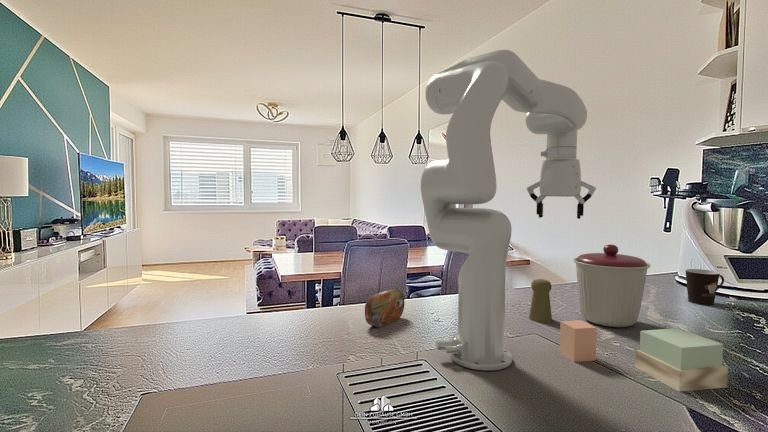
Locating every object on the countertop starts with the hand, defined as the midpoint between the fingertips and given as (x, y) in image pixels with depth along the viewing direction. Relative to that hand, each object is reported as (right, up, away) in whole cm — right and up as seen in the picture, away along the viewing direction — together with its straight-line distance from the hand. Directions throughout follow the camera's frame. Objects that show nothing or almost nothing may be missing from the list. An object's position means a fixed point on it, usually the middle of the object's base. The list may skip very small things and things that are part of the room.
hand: (559, 217), depth 112 cm
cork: (-5, -28, +1) cm, 29 cm away
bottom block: (+8, -31, -34) cm, 46 cm away
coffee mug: (+54, -27, +18) cm, 63 cm away
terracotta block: (-7, -30, -24) cm, 39 cm away
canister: (+13, -28, -1) cm, 31 cm away
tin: (-48, -28, -2) cm, 56 cm away
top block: (+8, -27, -34) cm, 44 cm away
